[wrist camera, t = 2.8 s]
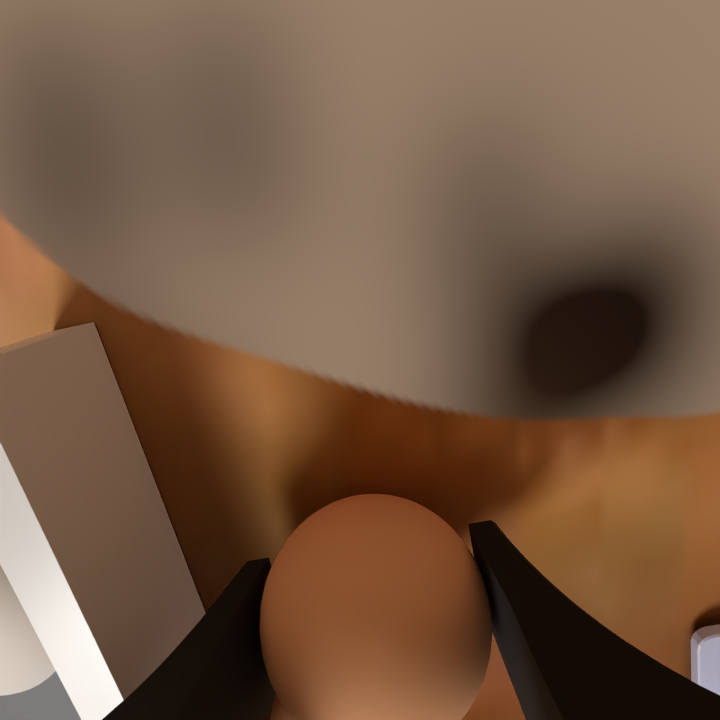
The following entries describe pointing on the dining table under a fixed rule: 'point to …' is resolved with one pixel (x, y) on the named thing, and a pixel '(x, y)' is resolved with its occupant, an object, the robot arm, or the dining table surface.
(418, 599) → the ball
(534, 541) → the dining table surface
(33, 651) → the mat
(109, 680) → the fence
